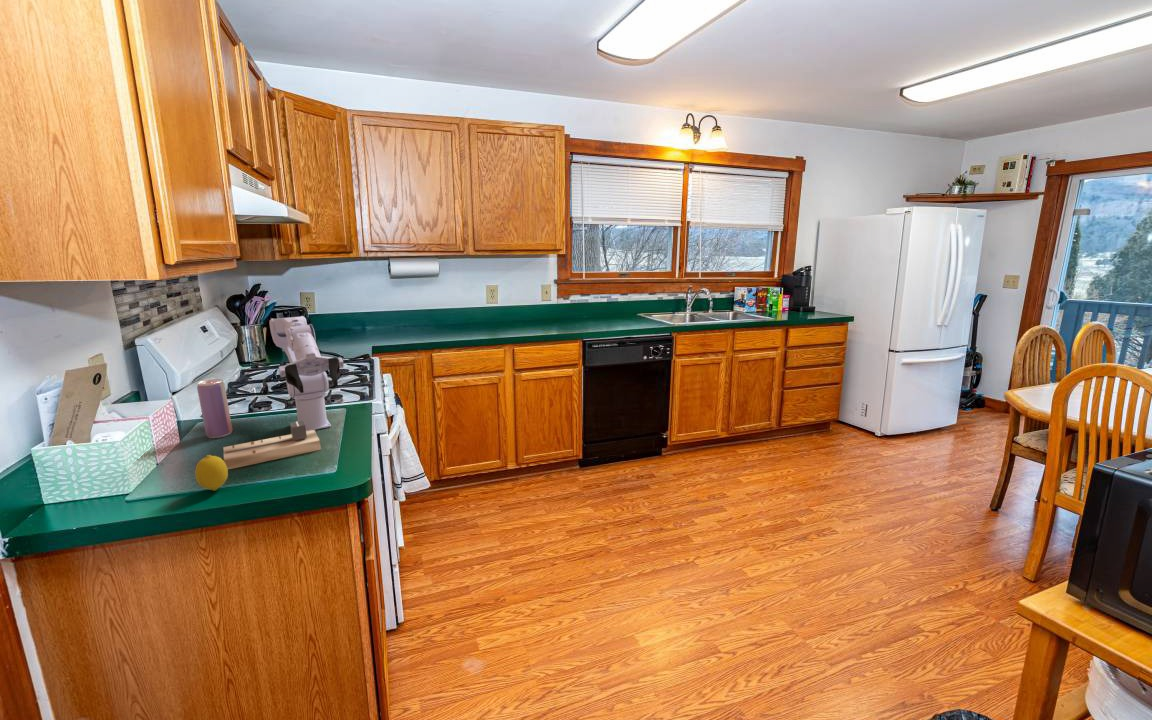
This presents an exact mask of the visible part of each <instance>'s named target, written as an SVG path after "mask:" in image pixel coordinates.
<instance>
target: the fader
mask: <svg viewBox="0 0 1152 720" xmlns="http://www.w3.org/2000/svg"><path fill="white" fill-rule="evenodd" d="M289 427H290V434H291V435H292V438H293V441H294V440H299V439H304V438H307V435H306V428H305V424H304V422H303V421H299V422H296V421H294V422H289Z"/></svg>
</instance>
